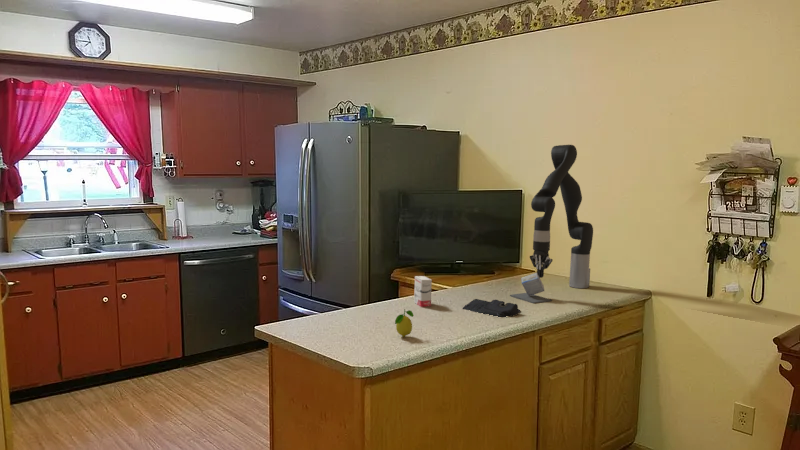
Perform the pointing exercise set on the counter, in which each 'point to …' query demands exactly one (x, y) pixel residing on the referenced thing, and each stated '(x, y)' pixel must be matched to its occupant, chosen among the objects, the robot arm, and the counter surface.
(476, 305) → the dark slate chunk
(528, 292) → the medicine box
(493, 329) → the counter surface
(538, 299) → the mat
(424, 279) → the ink box
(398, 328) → the lemon
